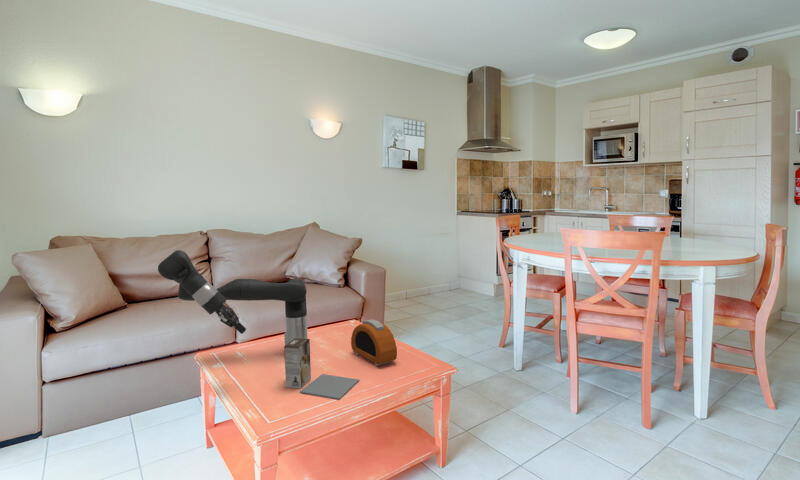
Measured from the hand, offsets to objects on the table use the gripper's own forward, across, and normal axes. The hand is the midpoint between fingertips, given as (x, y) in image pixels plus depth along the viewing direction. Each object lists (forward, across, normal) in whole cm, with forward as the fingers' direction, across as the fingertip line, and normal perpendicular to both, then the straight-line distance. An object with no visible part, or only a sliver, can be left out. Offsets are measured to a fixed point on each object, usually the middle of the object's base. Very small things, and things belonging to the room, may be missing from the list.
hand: (244, 331), depth 158 cm
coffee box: (+28, 0, 0) cm, 29 cm away
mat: (+36, +6, +9) cm, 38 cm away
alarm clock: (+49, -18, +24) cm, 57 cm away
